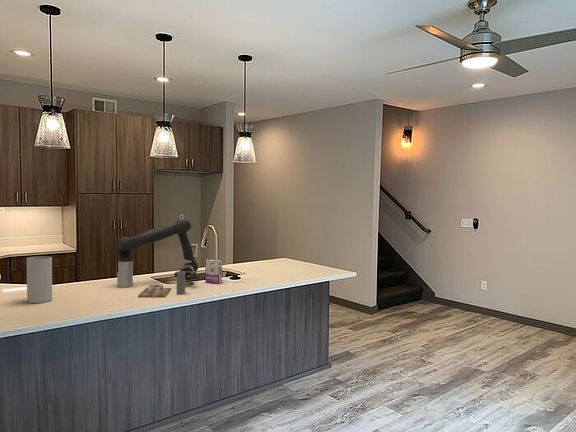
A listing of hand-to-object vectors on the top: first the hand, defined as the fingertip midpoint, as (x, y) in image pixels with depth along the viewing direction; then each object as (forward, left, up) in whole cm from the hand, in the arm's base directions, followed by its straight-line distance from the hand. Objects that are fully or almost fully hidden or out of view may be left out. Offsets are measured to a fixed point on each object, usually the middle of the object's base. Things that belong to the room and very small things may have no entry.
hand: (184, 276), depth 281 cm
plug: (0, -11, -9) cm, 14 cm away
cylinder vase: (-77, -30, -9) cm, 83 cm away
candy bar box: (+18, +21, -9) cm, 29 cm away
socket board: (-16, -11, -9) cm, 22 cm away
